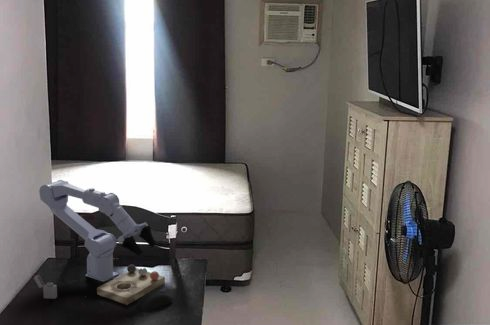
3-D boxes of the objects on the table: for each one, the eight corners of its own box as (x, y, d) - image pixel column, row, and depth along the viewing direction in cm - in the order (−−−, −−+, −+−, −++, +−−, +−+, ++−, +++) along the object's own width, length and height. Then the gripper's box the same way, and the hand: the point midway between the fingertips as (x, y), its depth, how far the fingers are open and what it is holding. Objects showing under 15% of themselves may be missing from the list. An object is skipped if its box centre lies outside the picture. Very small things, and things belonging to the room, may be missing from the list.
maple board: (97, 294, 184) (96, 287, 183) (135, 274, 201) (135, 268, 200) (127, 304, 177) (127, 298, 176) (164, 283, 194) (164, 276, 193)
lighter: (57, 296, 182) (56, 274, 180) (55, 298, 180) (54, 277, 178) (36, 295, 182) (35, 274, 180) (34, 298, 180) (33, 276, 178)
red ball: (148, 280, 190) (148, 272, 189) (153, 277, 193) (153, 269, 192) (155, 282, 189) (155, 274, 188) (160, 279, 191) (160, 271, 191)
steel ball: (136, 276, 193) (136, 268, 192) (142, 273, 196) (142, 265, 195) (143, 278, 191) (143, 270, 191) (149, 275, 194) (149, 267, 193)
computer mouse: (173, 302, 180) (173, 292, 179) (144, 312, 173) (144, 301, 172) (163, 296, 185) (163, 285, 184) (135, 305, 177) (135, 294, 177)
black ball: (125, 273, 195) (125, 265, 195) (131, 270, 198) (131, 262, 197) (131, 275, 194) (131, 267, 193) (137, 272, 197) (137, 264, 196)
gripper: (115, 222, 181) (140, 252, 179) (141, 208, 193) (165, 236, 192) (106, 233, 185) (130, 263, 183) (132, 219, 197) (155, 246, 195)
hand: (147, 250), depth 188 cm, fingers open, 7 cm apart
